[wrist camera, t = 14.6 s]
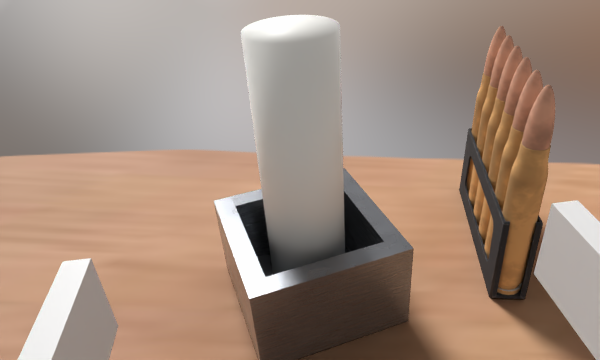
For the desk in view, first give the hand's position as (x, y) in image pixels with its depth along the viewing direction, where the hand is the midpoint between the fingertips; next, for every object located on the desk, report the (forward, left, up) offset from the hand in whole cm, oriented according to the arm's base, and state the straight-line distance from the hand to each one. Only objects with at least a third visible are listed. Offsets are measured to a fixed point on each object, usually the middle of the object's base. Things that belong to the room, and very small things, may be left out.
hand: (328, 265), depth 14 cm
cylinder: (+2, +9, -10) cm, 13 cm away
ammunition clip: (+14, +9, -11) cm, 20 cm away
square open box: (+2, +9, -11) cm, 14 cm away
